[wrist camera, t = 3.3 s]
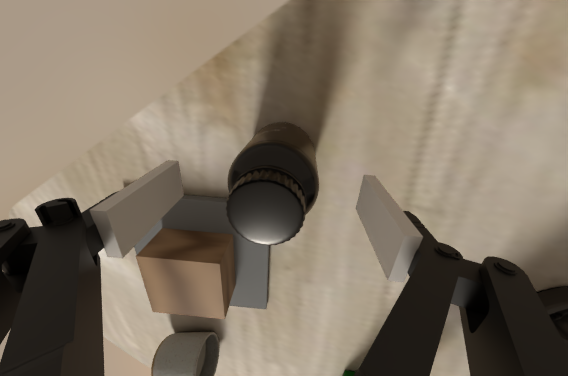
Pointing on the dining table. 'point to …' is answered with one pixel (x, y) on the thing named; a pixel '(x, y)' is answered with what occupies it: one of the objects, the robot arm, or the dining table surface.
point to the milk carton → (348, 373)
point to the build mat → (247, 255)
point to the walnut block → (189, 272)
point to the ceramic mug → (187, 355)
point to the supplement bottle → (272, 184)
